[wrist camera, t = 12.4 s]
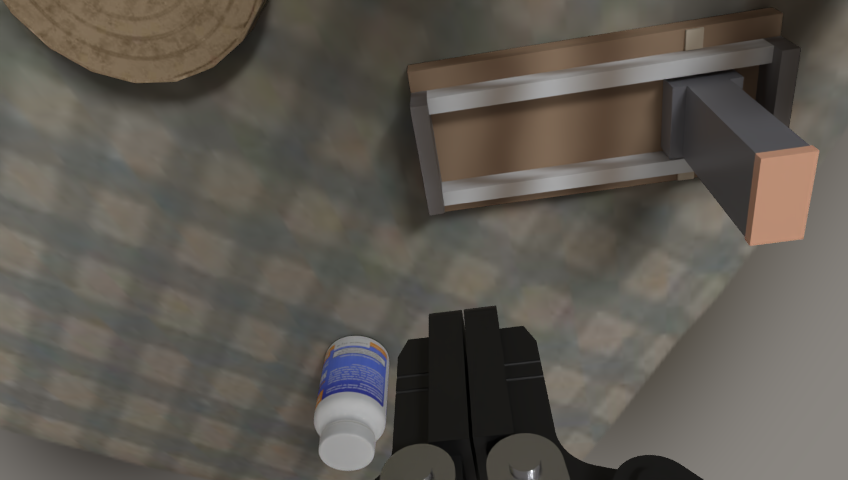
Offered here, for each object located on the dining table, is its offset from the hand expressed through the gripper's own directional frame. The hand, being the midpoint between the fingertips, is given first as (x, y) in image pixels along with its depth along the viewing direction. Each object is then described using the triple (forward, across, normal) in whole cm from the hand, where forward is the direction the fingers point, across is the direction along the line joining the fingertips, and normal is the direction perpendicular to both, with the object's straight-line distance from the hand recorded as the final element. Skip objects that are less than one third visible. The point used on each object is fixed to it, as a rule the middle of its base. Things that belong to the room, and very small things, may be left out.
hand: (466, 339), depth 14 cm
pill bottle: (+29, +11, +26) cm, 41 cm away
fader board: (+29, -8, +7) cm, 31 cm away
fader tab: (+27, -15, +7) cm, 32 cm away
